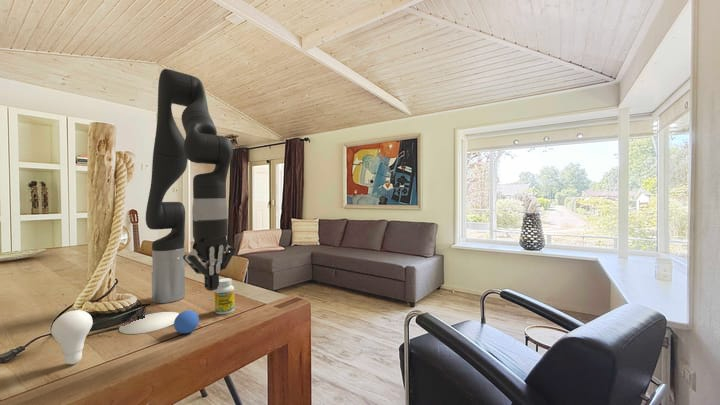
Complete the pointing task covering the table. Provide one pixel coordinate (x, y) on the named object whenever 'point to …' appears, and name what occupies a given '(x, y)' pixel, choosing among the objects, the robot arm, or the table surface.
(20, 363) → the table surface
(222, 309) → the supplement bottle
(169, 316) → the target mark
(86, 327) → the lightbulb
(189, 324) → the ball
